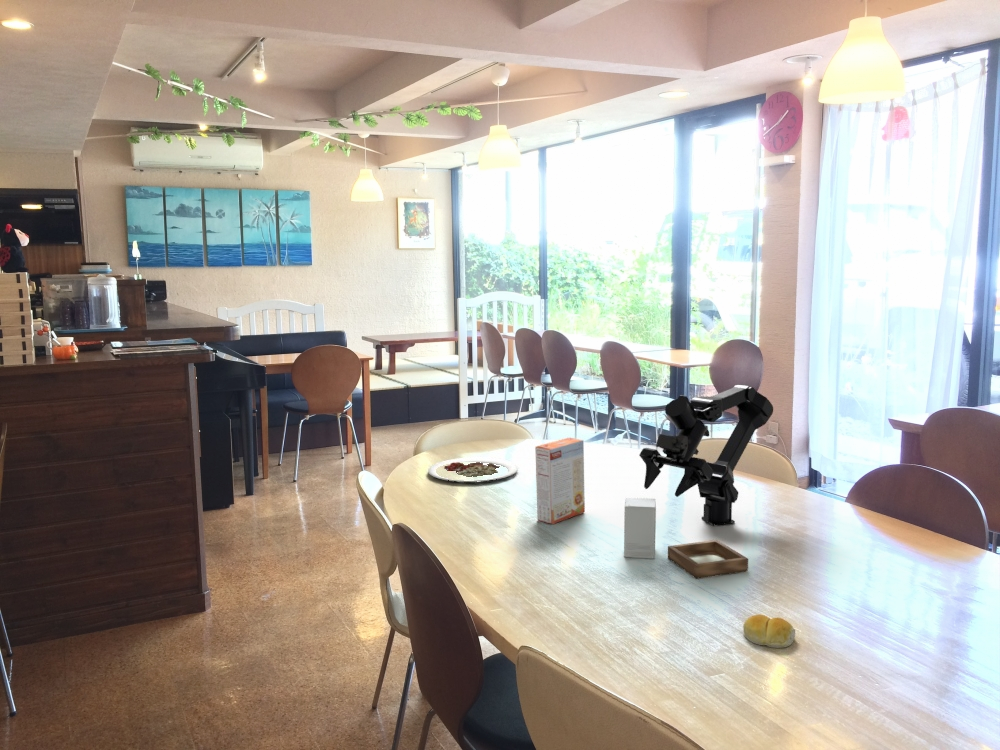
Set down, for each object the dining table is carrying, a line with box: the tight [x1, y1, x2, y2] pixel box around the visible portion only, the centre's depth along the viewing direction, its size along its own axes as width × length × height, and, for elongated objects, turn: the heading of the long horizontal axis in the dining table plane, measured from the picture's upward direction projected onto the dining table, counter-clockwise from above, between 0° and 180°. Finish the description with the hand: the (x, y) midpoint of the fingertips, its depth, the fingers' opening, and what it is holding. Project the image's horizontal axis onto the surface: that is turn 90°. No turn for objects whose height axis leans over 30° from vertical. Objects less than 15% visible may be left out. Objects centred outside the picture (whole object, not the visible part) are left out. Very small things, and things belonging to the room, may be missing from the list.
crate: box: [667, 539, 749, 579], centre depth 184 cm, size 13×13×3 cm
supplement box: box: [623, 497, 657, 560], centre depth 191 cm, size 7×7×13 cm
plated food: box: [427, 456, 519, 483], centre depth 267 cm, size 30×30×3 cm
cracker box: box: [534, 437, 586, 525], centre depth 219 cm, size 14×6×21 cm, turn 135°
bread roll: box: [742, 614, 796, 649], centre depth 148 cm, size 8×9×4 cm
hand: (660, 491), depth 196 cm, fingers open, 9 cm apart
